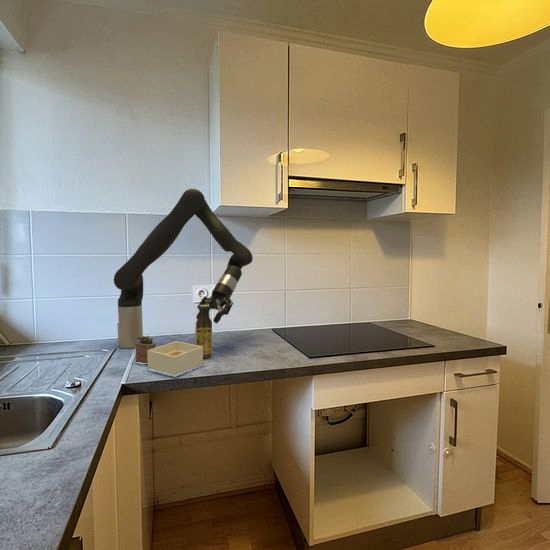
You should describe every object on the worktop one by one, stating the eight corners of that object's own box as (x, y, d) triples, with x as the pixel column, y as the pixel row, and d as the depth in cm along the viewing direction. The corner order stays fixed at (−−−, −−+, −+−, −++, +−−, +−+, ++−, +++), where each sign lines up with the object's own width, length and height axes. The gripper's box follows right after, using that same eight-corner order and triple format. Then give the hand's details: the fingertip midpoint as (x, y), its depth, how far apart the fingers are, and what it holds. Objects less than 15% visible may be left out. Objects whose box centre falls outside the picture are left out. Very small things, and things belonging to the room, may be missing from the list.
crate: (147, 370, 113) (147, 350, 112) (176, 359, 124) (176, 341, 124) (175, 378, 107) (174, 357, 106) (203, 365, 118) (202, 346, 117)
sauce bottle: (195, 360, 124) (194, 307, 122) (194, 354, 130) (193, 304, 128) (213, 358, 125) (212, 306, 124) (211, 353, 131) (211, 303, 130)
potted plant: (158, 362, 121) (157, 335, 120) (152, 365, 117) (152, 338, 117) (139, 360, 123) (138, 334, 122) (133, 363, 120) (132, 336, 119)
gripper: (207, 281, 138) (187, 313, 129) (235, 283, 131) (216, 317, 122) (215, 292, 143) (197, 324, 134) (242, 294, 136) (225, 328, 127)
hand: (206, 320), depth 128 cm, fingers open, 8 cm apart
